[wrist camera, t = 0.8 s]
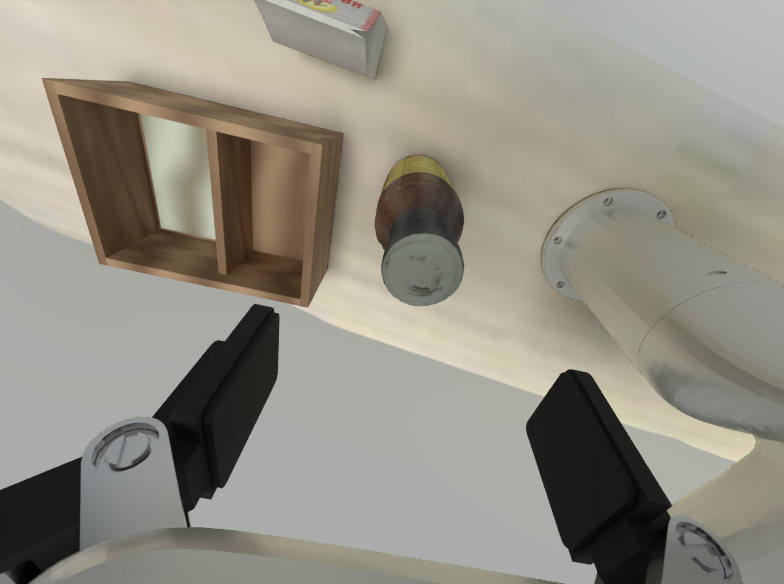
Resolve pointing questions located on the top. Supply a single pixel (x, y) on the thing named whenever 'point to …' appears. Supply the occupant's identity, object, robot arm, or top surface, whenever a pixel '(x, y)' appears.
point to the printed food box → (328, 31)
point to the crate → (200, 187)
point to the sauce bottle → (420, 232)
